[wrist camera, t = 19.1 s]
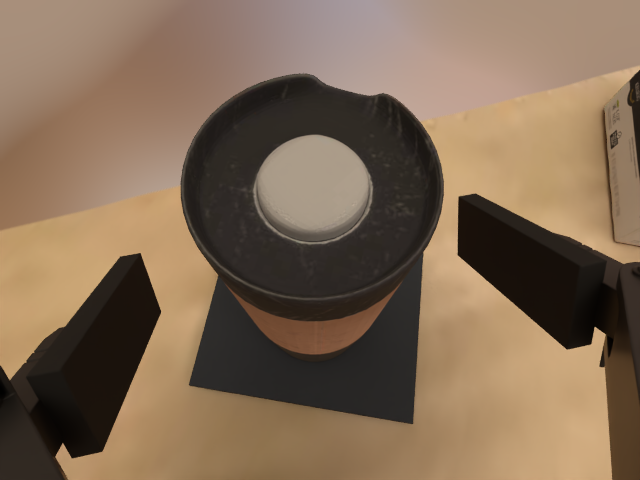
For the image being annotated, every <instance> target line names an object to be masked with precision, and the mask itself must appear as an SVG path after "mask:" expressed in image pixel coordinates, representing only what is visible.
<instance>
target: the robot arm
mask: <svg viewBox="0 0 640 480" xmlns="http://www.w3.org/2000/svg"><path fill="white" fill-rule="evenodd" d="M458 256H459V257H460V258H462V259H463V260H464V261H465V262H466V263H467V264H469V265H470V266H471V267H472V268H473V269H474V270H475V271H477V272H478V273H479V274H480V275H481V276H482V277H484V278H485V279H486V280H487V281H488V282H489V283H491V284H492V285H493V286H494V287H495V288H496V289H497V290H499V291H500V292H501V293H502V294H503V295H504V296H506V297H507V298H508V299H509V300H510V301H511V302H513V303H514V304H515V305H516V306H517V307H518V308H519V309H521V310H522V311H523V312H524V313H525V314H526V315H528V316H529V317H530V318H531V319H532V320H533V321H535V322H536V323H537V324H538V325H539V326H540V327H541V328H543V329H544V330H545V331H546V332H547V333H548V334H550V335H551V336H552V337H553V338H554V339H555V340H557V341H558V342H559V343H560V344H561V345H562V346H563V347H565V348H566V349H567V350H568V349H572V348H577V347H581V346H586V345H590V344H591V343H592V338H593V333H594V327H596V328H598V329H599V330H601V331H602V332H603V333H605V334H606V336H605V341H604V346H603V351H602V356H601V361H600V366H599V367H605V374H606V389H607V404H608V420H609V435H610V450H611V465H612V480H640V262H633V263H626V264H622V263H620V262H618V261H616V260H614V259H612V258H610V257H608V256H606V255H604V254H602V253H600V252H598V251H596V250H592V248H590V247H588V246H586V245H582V243H580V242H578V241H576V240H574V239H572V238H570V237H567V236H563V235H559V234H556V233H552V232H550V231H548V230H546V229H544V228H542V227H540V226H538V225H536V224H534V223H532V222H530V221H528V220H526V219H524V218H523V217H521V216H519V215H517V214H515V213H513V212H511V211H509V210H507V209H505V208H503V207H501V206H499V205H497V204H495V203H493V202H491V201H489V200H487V199H485V198H483V197H481V196H479V195H477V194H471V195H465V196H460V197H459V200H458ZM160 314H161V310H160V307H159V304H158V301H157V299H156V296H155V293H154V290H153V287H152V285H151V282H150V279H149V276H148V273H147V270H146V268H145V265H144V262H143V259H142V256H141V253H138V254H133V255H127V256H122V257H120V258H119V259H118V260H117V262H116V263H115V264H114V265H113V267H112V268H111V269H110V270H109V272H108V273H107V274H106V276H105V277H104V278H103V279H102V281H101V282H100V283H99V284H98V286H97V287H96V288H95V289H94V291H93V292H92V293H91V295H90V296H89V297H88V298H87V300H86V301H85V302H84V303H83V305H82V306H81V307H80V308H79V310H78V311H77V312H76V314H75V315H74V316H73V317H72V319H71V320H70V321H69V322H68V324H67V325H66V326H65V327H62V328H59V329H57V330H56V331H55V332H53V333H52V334H51V335H49V336H48V337H47V338H45V339H44V340H43V341H42V343H41V344H40V345H39V346H38V347H37V349H36V350H35V351H34V352H35V353H32V355H31V356H30V357H29V358H28V359H27V363H24V364H23V365H22V367H21V368H20V369H19V370H18V371H17V373H16V374H15V375H14V376H13V377H12V379H11V380H9V379H8V377H7V375H6V374H5V372H4V370H3V369H2V367H1V366H0V480H68V479H67V477H66V475H65V473H64V472H63V470H62V468H61V466H60V464H59V463H58V461H57V459H56V458H55V456H56V454H57V452H58V451H59V449H60V447H61V445H62V443H63V444H64V445H65V447H66V449H67V451H68V452H69V454H70V456H71V458H76V457H81V456H85V455H90V454H94V453H99V452H102V451H103V449H104V447H105V444H106V442H107V439H108V437H109V435H110V432H111V430H112V428H113V425H114V423H115V420H116V418H117V416H118V413H119V411H120V409H121V406H122V404H123V401H124V399H125V397H126V394H127V392H128V390H129V387H130V385H131V382H132V380H133V378H134V375H135V373H136V371H137V368H138V366H139V363H140V361H141V359H142V356H143V354H144V352H145V349H146V347H147V344H148V342H149V340H150V337H151V335H152V333H153V330H154V328H155V325H156V323H157V321H158V318H159V316H160Z"/></svg>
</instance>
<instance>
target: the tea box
mask: <svg viewBox="0 0 640 480" xmlns="http://www.w3.org/2000/svg"><path fill="white" fill-rule="evenodd" d="M604 111H605V126H606V134H607V152H608V160H609V170H610V175H609V178H610V188H611V195H612V215H613V223H614V238H615V239H614V240H615V241H616V242H621V243H626V244H631V245H636V246H640V70H639V71H638V72H637V73H636V74H635V75H634V76H633V77H632V79H631V80H629V81H628V82H627V83H626V84H625V85H624V86H623V87H622V88H621V89H620V90H619V91H618V92H617V93H616V94H615V95H614V97H613V98H612V99H611V100H610V101H609V102H608V103H607V104H606V105H605V108H604Z"/></svg>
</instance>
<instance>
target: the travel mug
mask: <svg viewBox="0 0 640 480" xmlns="http://www.w3.org/2000/svg"><path fill="white" fill-rule="evenodd" d="M443 196H444V180H443V174H442V168H441V163H440V160H439V157H438V154H437V150H436V148H435V146H434V144H433V142H432V140H431V138H430V136H429V135H428V133H427V131H426V130H425V128H424V127H423V125H422V124H421V123H420V122H419V120H418V119H417V118H416V117H415V116H414V115H413V113H411V112H410V111H409V110H408V109H407V108H406V107H405V106H404V105H403V104H402V103H401V102H399V101H398V100H397V99H395V98H394V97H392V96H390V95H388V94H384V93H382V94H378V95H374V96H367V95H361V94H357V93H353V92H348V91H345V90H341V89H338V88H334V87H331V86H328V85H326V84H325V83H323V82H321V81H320V80H319V79H318V78H317V77H315V76H314V75H310V74H293V75H286V76H282V77H278V78H273V79H270V80H267V81H264V82H261V83H258V84H256V85H254V86H252V87H250V88H247V89H245V90H243V91H242V92H240V93H238V94H237V95H235V96H233V97H232V98H231V99H229V100H228V101H226V102H225V103H224V104H222V105H221V106H220V107H219V108H218V109H217V110H216V111H215V112H214V113H212V114H211V115H210V117H209V118H208V119H207V120H206V121H205V123H204V124H203V125H202V126H201V128H200V129H199V131H198V132H197V134H196V135H195V137H194V139H193V141H192V143H191V145H190V148H189V149H188V152H187V155H186V158H185V162H184V165H183V170H182V177H181V201H182V207H183V213H184V216H185V219H186V223H187V226H188V229H189V231H190V233H191V235H192V237H193V239H194V241H195V243H196V245H197V247H198V248H199V250H200V251H201V253H202V254H203V255H204V257H205V258H206V260H207V261H208V262H209V264H210V265H211V266H212V268H213V269H214V270H215V271H216V273H217V274H218V275H219V277H220V278H221V279H222V281H223V282H224V283H225V284H226V286H227V287H228V288H229V290H230V291H231V292H232V294H233V295H234V296H235V297H236V299H237V300H238V301H239V303H240V304H241V305H242V307H243V308H244V309H245V310H246V312H247V313H248V314H249V316H250V317H251V318H252V320H253V321H254V322H255V323H256V325H257V326H258V327H259V329H260V330H261V331H262V332H263V333H264V334H265V335H266V336H267V337H268V338H269V339H270V340H271V341H273V342H274V343H275V344H276V345H277V346H278V347H280V348H281V349H282V350H283V351H285V352H286V353H287V354H289V355H291V356H292V357H294V358H297V359H299V360H303V361H308V362H321V361H326V360H330V359H332V358H335V357H337V356H339V355H340V354H342V353H343V352H345V351H346V350H347V349H348V348H349V347H350V346H352V345H353V344H354V343H355V342H356V341H357V340H358V339H359V338H360V337H361V336H362V335H363V334H364V333H365V332H366V331H367V330H368V329H369V328H370V326H371V325H372V323H373V322H374V321H375V319H376V318H377V316H378V315H379V314H380V312H381V311H382V309H383V308H384V307H385V305H386V304H387V302H388V301H389V300H390V298H391V297H392V295H393V294H394V293H395V291H396V290H397V288H398V287H399V285H400V284H401V283H402V281H403V280H404V278H405V277H406V276H407V274H408V273H409V272H410V270H411V269H412V267H413V266H414V265H415V263H416V262H417V260H418V259H419V257H420V256H421V255H422V253H423V252H424V250H425V249H426V247H427V246H428V244H429V242H430V240H431V238H432V236H433V233H434V231H435V229H436V227H437V224H438V220H439V217H440V214H441V210H442V203H443Z"/></svg>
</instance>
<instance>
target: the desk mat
mask: <svg viewBox="0 0 640 480" xmlns="http://www.w3.org/2000/svg"><path fill="white" fill-rule="evenodd" d="M422 263H423V253H422V255H421V256H420V257H419V259H418V260H417V262H416V263H415V265H414V266H413V267H412V269H411V270H410V272H409V273H408V274H407V276H406V277H405V278H404V280H403V281H402V283H401V284H400V285H399V287H398V288H397V290H396V291H395V293H394V294H393V295H392V297H391V298H390V300H389V301H388V302H387V304H386V305H385V307H384V308H383V309H382V311H381V312H380V314H379V315H378V316H377V318H376V319H375V321H374V322H373V323H372V325H371V326H370V328H369V329H368V330H367V331H366V332H365V333H364V334H363V335H362V336H361V337H360V338H359V339H358V340H357V341H356V342H355V343H354V344H353V345H352V346H350V347H349V348H348V349H347V350H346V351H345V352H343V353H342V354H340V355H339V356H337V357H335V358H332V359H330V360H326V361H321V362H308V361H303V360H299V359H297V358H294V357H292V356H291V355H289V354H287V353H286V352H285V351H283V350H282V349H281V348H280V347H278V346H277V345H276V344H275V343H274V342H273V341H271V340H270V339H269V338H268V337H267V336H266V335H265V334H264V333H263V332H262V331H261V330H260V329H259V327H258V326H257V325H256V323H255V322H254V321H253V320H252V318H251V317H250V316H249V314H248V313H247V312H246V310H245V309H244V308H243V307H242V305H241V304H240V303H239V301H238V300H237V299H236V297H235V296H234V295H233V294H232V292H231V291H230V290H229V288H228V287H227V286H226V284H225V283H224V282H223V281H222V279H221V278H220V277H219V275H218V279H217V283H216V286H215V290H214V294H213V298H212V301H211V305H210V309H209V312H208V316H207V320H206V324H205V327H204V331H203V335H202V338H201V342H200V346H199V350H198V353H197V357H196V361H195V364H194V368H193V372H192V376H191V379H190V383H189V385H190V386H195V387H201V388H207V389H213V390H219V391H224V392H230V393H236V394H242V395H248V396H253V397H259V398H265V399H271V400H276V401H282V402H288V403H294V404H300V405H305V406H311V407H317V408H323V409H329V410H334V411H340V412H346V413H352V414H358V415H363V416H369V417H375V418H381V419H387V420H392V421H398V422H404V423H410V424H413V414H414V397H415V381H416V364H417V347H418V330H419V314H420V297H421V280H422Z"/></svg>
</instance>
